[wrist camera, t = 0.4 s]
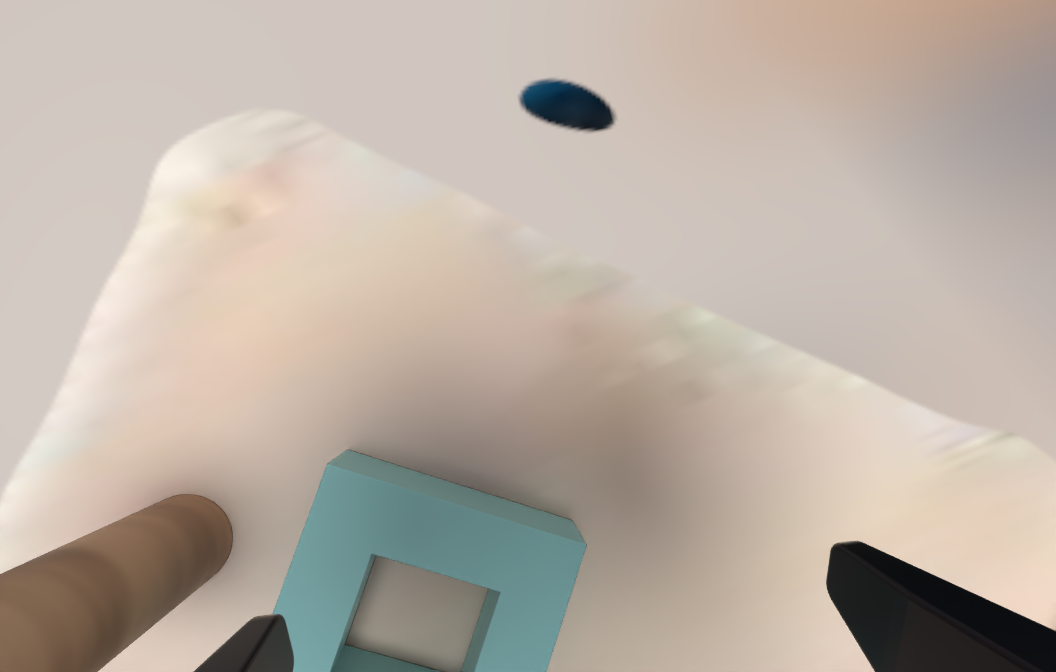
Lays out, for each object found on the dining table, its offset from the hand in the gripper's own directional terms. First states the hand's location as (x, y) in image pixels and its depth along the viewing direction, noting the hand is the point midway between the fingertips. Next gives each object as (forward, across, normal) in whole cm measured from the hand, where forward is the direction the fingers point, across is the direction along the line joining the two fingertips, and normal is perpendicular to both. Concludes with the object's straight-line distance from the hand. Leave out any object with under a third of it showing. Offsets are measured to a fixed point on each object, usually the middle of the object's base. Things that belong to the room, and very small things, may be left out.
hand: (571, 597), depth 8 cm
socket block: (+12, +5, +11) cm, 17 cm away
